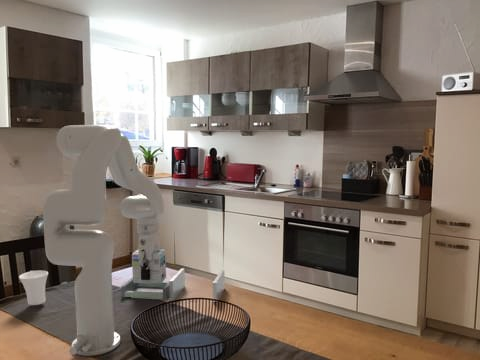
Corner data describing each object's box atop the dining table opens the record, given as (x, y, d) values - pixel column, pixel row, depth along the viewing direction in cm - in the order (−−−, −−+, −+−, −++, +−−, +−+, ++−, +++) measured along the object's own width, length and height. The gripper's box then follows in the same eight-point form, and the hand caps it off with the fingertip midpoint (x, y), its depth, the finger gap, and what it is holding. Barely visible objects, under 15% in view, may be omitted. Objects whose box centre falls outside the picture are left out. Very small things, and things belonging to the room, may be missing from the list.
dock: (166, 299, 148) (165, 288, 148) (121, 297, 151) (121, 286, 151) (177, 287, 161) (176, 276, 160) (135, 285, 163) (135, 275, 163)
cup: (47, 295, 151) (45, 267, 150) (52, 303, 143) (50, 274, 142) (19, 300, 146) (17, 272, 145) (22, 309, 138) (20, 279, 137)
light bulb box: (166, 277, 158) (165, 249, 157) (161, 283, 151) (160, 254, 150) (138, 277, 159) (137, 248, 158) (132, 283, 153) (131, 253, 151)
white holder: (216, 303, 145) (216, 282, 144) (169, 300, 147) (169, 280, 147) (224, 288, 158) (224, 270, 158) (181, 286, 161) (181, 268, 160)
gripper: (148, 233, 144) (150, 285, 146) (165, 223, 161) (167, 269, 163) (127, 233, 145) (130, 284, 147) (147, 222, 162) (148, 268, 164)
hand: (149, 275), depth 155 cm, fingers closed on light bulb box, 7 cm apart
